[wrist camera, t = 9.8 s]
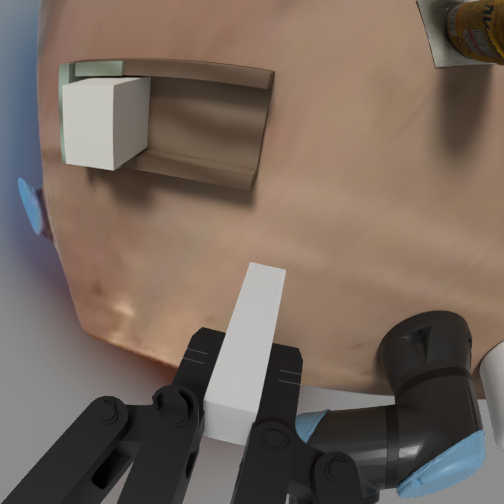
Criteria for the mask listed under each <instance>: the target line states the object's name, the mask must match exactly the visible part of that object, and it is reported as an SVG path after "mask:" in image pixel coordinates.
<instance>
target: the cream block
mask: <svg viewBox="0 0 504 504" xmlns="http://www.w3.org/2000/svg"><path fill="white" fill-rule="evenodd" d="M150 85H151V76H139V75H122V76H97V77H93V78H89V79H85V80H81V81H78V82H74V83H70V84H67V85H63V86H62V97H63V129H64V145H65V157H66V163H67V164H74V165H81V166H87V167H94V168H100V169H107V170H113V171H114V170H115V169H117V168H118V167H119V166H121V165H122V164H124V163H125V162H126V161H128V160H129V159H131V158H132V157H134V156H135V155H136V154H138V153H139V152H141V151H142V150H144V149H145V148H147V146H148V118H149V100H150Z"/></svg>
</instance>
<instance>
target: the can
mask: <svg viewBox="0 0 504 504" xmlns="http://www.w3.org/2000/svg"><path fill="white" fill-rule="evenodd" d="M479 372H480V376H481V380H482V384H483V388H484V392H485V396H486V400H487V404H488V409H489V413H490V418H491V423H492V428H493V434H494V439H495V442H496V445H497V446H498V449H501V450H503V451H504V341H503V342H501V343H500V344H498V345H497V346H496V347H494V348H493V349H492V350H491V351H490V352H489V353H488V354H487V355H486V356H485V357H484V359H483V361H482V362H481V365H480V370H479Z"/></svg>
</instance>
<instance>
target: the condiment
mask: <svg viewBox="0 0 504 504" xmlns="http://www.w3.org/2000/svg"><path fill="white" fill-rule="evenodd" d="M417 1H418V4H419V8H420V11H421V15H422V18H423V22H424V25H425V28H426V32H427V35H428V40H429V43H430V46H431V50H432V55H433V58H434V62H435V66H436V67H447V66H463V65H484V64H500V65H504V0H417ZM446 8H447V9H448V10H447V9H446ZM446 44H448V45H449V46H447V45H446ZM450 46H451V47H452V48H450Z"/></svg>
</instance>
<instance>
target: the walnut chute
mask: <svg viewBox="0 0 504 504" xmlns="http://www.w3.org/2000/svg"><path fill="white" fill-rule="evenodd" d="M274 74H275V71H271V70H265V69H259V68H253V67H246V66H239V65H231V64H223V63H213V62H203V61H191V60H176V59H150V58H115V59H90V60H81V61H75V62H70V63H65V64H61V65H59V117H60V136H61V150H62V161H63V163H66V157H65V145H64V129H63V97H62V86H63V85H67V84H70V83H74V82H78V81H81V80H85V79H89V78H93V77H97V76H122V75H139V76H151V85H150V100H149V118H148V146H147V148H145V149H144V150H142V151H141V152H139V153H138V154H136V155H135V156H134V157H132V158H131V159H129V160H128V161H126V162H125V163H124V164H122V165H121V166H119V167H118V168H117V169H121V168H128V169H134V170H140V171H146V172H152V173H158V174H163V175H169V176H174V177H180V178H185V179H190V180H196V181H201V182H206V183H211V184H216V185H221V186H226V187H231V188H235V189H240V190H245V191H249V192H250V190H251V188H252V186H253V184H254V182H255V179H256V176H257V170H258V164H259V158H260V153H261V147H262V141H263V136H264V130H265V124H266V119H267V113H268V107H269V102H270V96H271V91H272V85H273V80H274Z"/></svg>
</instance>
